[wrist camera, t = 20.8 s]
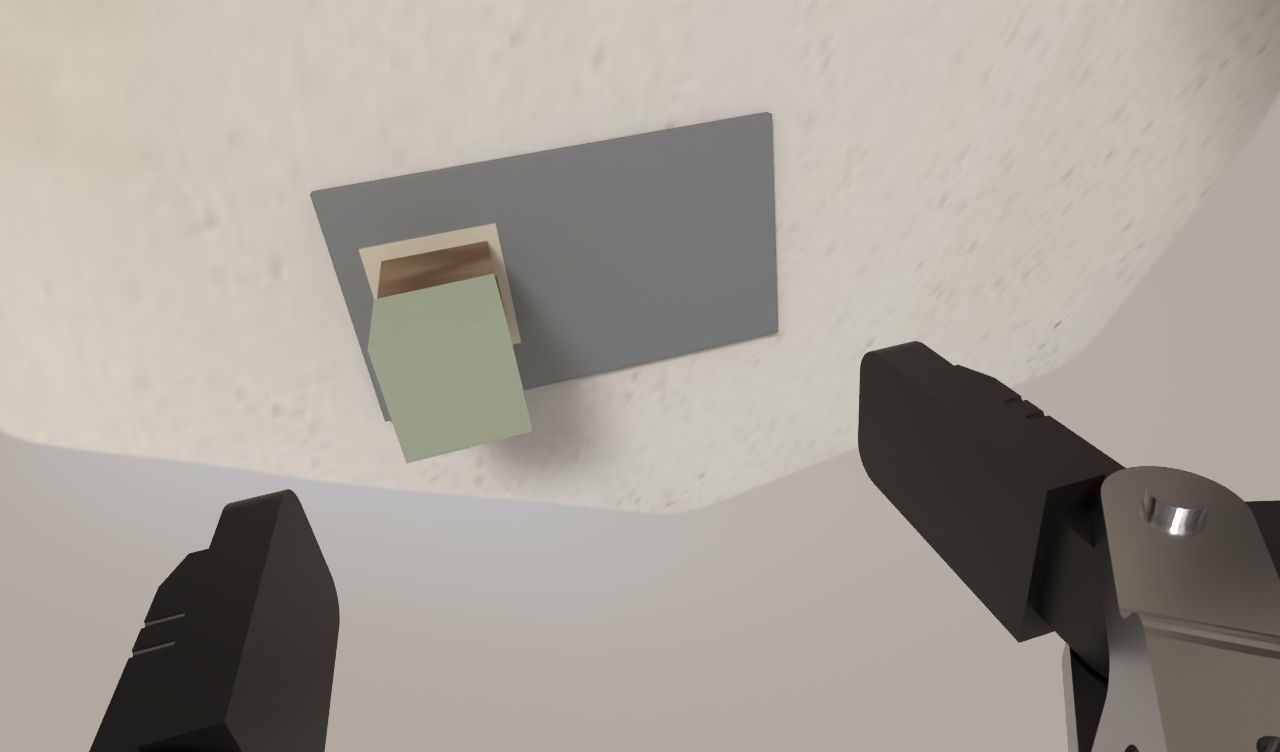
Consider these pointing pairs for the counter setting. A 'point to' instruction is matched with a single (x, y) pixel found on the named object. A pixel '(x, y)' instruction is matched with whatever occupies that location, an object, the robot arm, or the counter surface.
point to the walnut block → (435, 269)
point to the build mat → (587, 243)
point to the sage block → (447, 367)
